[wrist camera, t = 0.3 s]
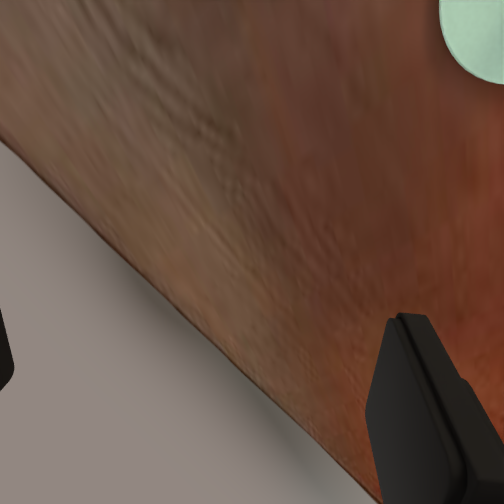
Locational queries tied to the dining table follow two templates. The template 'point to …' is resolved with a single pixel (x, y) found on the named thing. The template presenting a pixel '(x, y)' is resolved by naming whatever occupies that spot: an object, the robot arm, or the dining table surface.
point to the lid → (475, 36)
